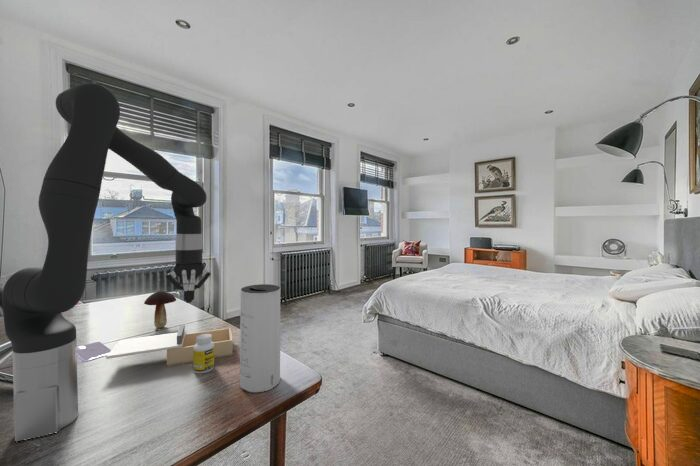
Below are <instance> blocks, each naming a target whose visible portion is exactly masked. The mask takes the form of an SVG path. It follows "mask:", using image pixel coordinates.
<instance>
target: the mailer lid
mask: <svg viewBox="0 0 700 466" xmlns="http://www.w3.org/2000/svg"><path fill="white" fill-rule="evenodd" d="M185 334H187V333H186V330H185V324H180V325H179V329H178V331H177V332H171V333H163V334H162V333H161V334H156V335H148V336H140V337H134V338H133V337H132V338H125V339H119V340H118V341H117V342H116V343H115V345H114V346H113V347H112V349H110V350H111V351H110V352H109V354H108V355H107V356H105V357H106V358H105V359H106V360H108V359H114V358H121V357H128V356H133V355H140V354H145V353H148V354H149V353H153V352H161V351H167V350H168V349H174V348H181V347H182V345H183V341H184V338H185Z"/></svg>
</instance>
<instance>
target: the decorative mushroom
mask: <svg viewBox="0 0 700 466" xmlns="http://www.w3.org/2000/svg"><path fill="white" fill-rule="evenodd" d="M176 301H177V298H176V297H175V295H173V294H172V293H170V292H167V291H163V290H159V291H155V292H154V293H152V294H150V295H149V296H148V297H147V298H146V299H145V300H144V303H143V305H146V306H155V308H154V309H155V310H154V317H153V320H154V321H153V325H154V327H155V328H156V329H163V328H165V327H166V326H167V323H168V320H167V316H168V315H167V311H166V310H167V309H166V306H165V304H170V303H174V302H176Z"/></svg>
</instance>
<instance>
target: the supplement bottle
mask: <svg viewBox="0 0 700 466" xmlns="http://www.w3.org/2000/svg"><path fill="white" fill-rule="evenodd" d="M211 340H212V335H211V334H202V335H199V336H197V337H196V343H197V344H195V345H194V349H193V364H192V365H193V368H192V369H193V373H195V374H207V373H209V372H211V371H213V369H214V368H215V359H214V343H213V342H212V341H211Z"/></svg>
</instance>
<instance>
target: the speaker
mask: <svg viewBox="0 0 700 466" xmlns="http://www.w3.org/2000/svg"><path fill="white" fill-rule="evenodd" d="M281 289H282V288H281V286H280V285H276V284H271V283H270V284H268V283H267V284H266V283H261V284H260V283H259V284H251V285H246V286H243V287H241V288H240V295H239V296H240V308H239V309H240V310H239V311H240V314H239V315H240V317H239V318H240V319H239V320H240V322H239V323H240V328H239V329H240V331H239V333H240V334H239V335H240V336H239V337H240V338H239V339H240V342H239V344H240V345H239V346H240V347H239V349H240V350H239V356H240V357H239V358H240V359H239V362H240V363H239V368H240V370H239V372H240V373H239V376H240V377H239V378H240V379H239V384H240V388H241V389H242V390H243V391H244V392H245V393H246V392H247V393H250V394H251V393H253V394H258V393H259V392H260V393H264V391H265V392H268V391H270V390H272V389H274V388H276V387H277V386H278V385H279V383H280V381H281ZM277 384H278V385H277ZM276 385H277V386H276ZM275 386H276V387H275ZM273 387H274V388H273ZM260 393H259V394H260Z"/></svg>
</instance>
